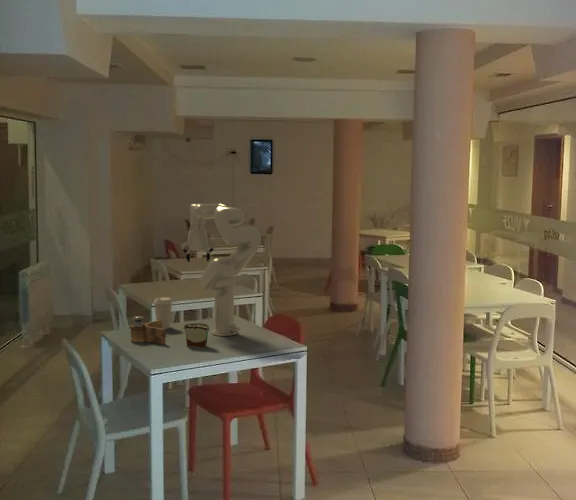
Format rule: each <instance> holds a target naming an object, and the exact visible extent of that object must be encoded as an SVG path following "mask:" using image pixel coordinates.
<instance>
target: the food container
mask: <svg viewBox="0 0 576 500" xmlns="http://www.w3.org/2000/svg"><path fill="white" fill-rule="evenodd" d="M183 330H184V332H185V333H184V334H185V341H186V347H190V348H196V349H197V348H198V349H199V348H200V349H207V347H208V335H209V332H210V326H209V324H207V323H202V322H201V323H200V322H193V323H186V324H184V326H183Z"/></svg>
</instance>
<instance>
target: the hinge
mask: <svg viewBox="0 0 576 500" xmlns="http://www.w3.org/2000/svg"><path fill="white" fill-rule="evenodd" d="M130 342H131V343H132V342H134V343H143V342H147V343H148V342H149V343H153V344H158V345H159V344H161V345H165V344H166V329H162V320H157V321H156V320H153V321H149V322H146V323H143V326H142V327H135V326H134V323H133V324H130Z"/></svg>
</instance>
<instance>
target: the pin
mask: <svg viewBox="0 0 576 500" xmlns="http://www.w3.org/2000/svg"><path fill="white" fill-rule="evenodd" d="M132 320H133V324H134V326H135V327H142V326H143V324H144V322H143V320H145V319H144V316H142V315H135V316H133V317H132Z"/></svg>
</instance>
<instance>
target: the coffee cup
mask: <svg viewBox="0 0 576 500" xmlns="http://www.w3.org/2000/svg"><path fill="white" fill-rule="evenodd" d="M153 304H154V311H155V321H157V320H162V329H165V330H168V329H170V328H171V319H172V305H173V300H172V298H171V297H167V296H164V297H156V298H155V299H154V301H153Z"/></svg>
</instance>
